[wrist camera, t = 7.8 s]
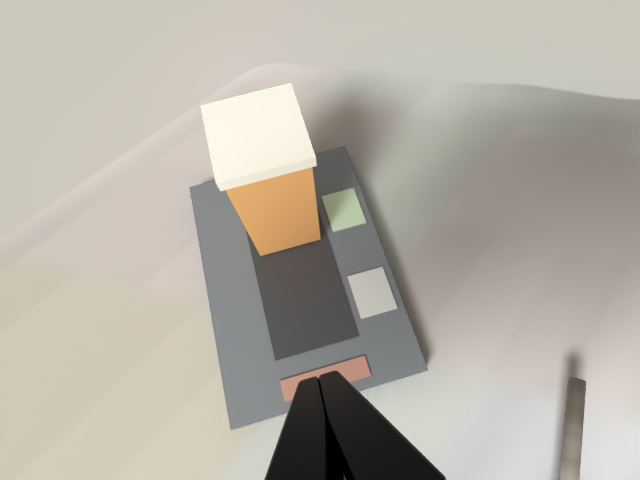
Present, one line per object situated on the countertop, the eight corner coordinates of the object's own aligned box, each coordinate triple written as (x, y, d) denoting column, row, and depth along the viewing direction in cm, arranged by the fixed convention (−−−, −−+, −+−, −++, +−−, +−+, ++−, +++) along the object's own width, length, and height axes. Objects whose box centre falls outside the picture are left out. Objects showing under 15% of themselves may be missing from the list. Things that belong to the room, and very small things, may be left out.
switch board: (424, 371, 20) (428, 369, 19) (235, 428, 20) (230, 430, 19) (344, 155, 26) (344, 145, 25) (195, 195, 25) (188, 186, 24)
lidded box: (324, 241, 22) (315, 156, 14) (258, 259, 22) (215, 183, 14) (306, 185, 23) (291, 82, 16) (245, 201, 23) (200, 105, 16)
